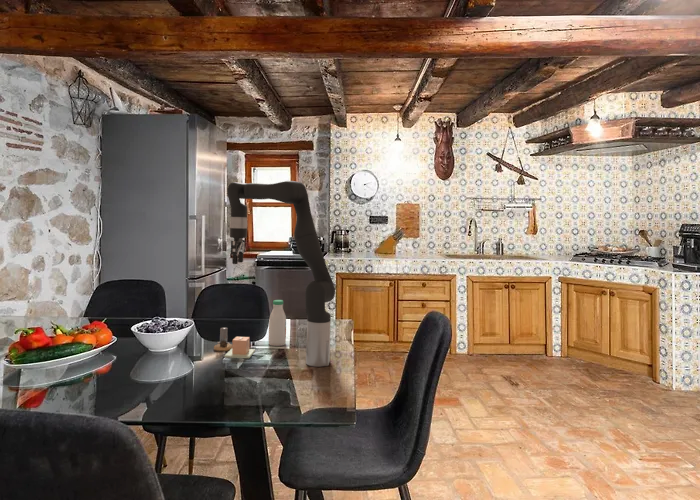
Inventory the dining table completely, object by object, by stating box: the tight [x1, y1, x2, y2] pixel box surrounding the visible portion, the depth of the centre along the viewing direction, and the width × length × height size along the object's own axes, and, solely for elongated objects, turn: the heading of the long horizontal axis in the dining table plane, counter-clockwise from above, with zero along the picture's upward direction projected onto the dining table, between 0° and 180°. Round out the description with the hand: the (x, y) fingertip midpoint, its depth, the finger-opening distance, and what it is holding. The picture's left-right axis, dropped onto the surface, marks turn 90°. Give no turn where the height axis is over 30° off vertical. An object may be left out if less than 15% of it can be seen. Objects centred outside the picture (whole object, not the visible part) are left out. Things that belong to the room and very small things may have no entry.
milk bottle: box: [268, 299, 287, 347], centre depth 197 cm, size 8×8×20 cm
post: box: [213, 327, 232, 353], centre depth 187 cm, size 8×8×9 cm
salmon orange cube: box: [231, 336, 251, 355], centre depth 180 cm, size 6×6×6 cm
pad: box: [224, 348, 256, 359], centre depth 181 cm, size 10×10×1 cm
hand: (237, 263), depth 196 cm, fingers open, 8 cm apart
